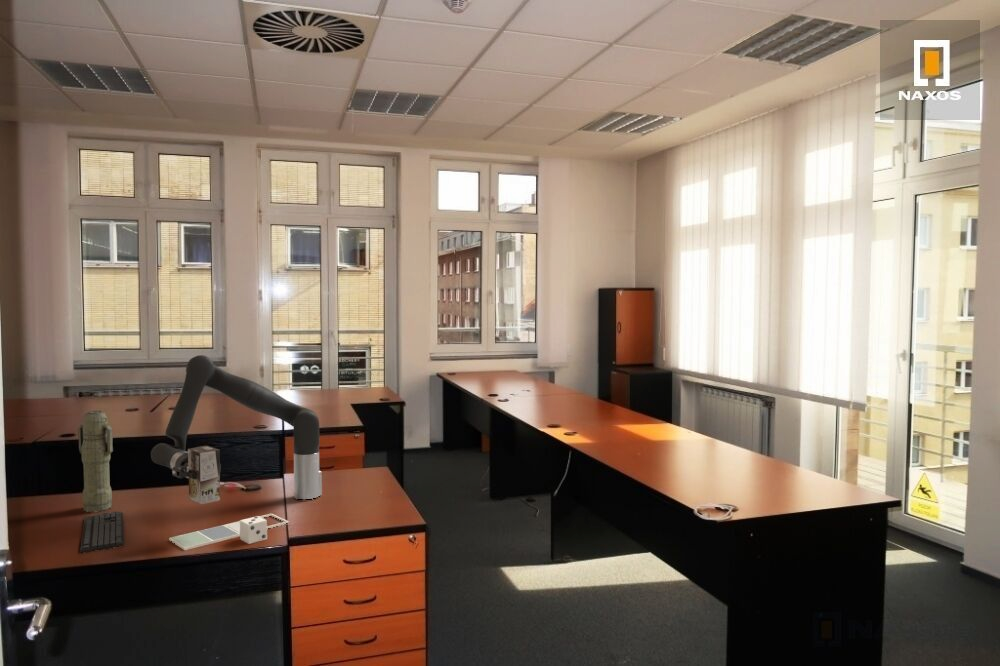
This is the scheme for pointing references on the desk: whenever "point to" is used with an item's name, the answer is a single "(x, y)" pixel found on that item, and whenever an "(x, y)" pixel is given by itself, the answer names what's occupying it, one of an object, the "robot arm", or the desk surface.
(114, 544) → the keyboard
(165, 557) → the desk surface
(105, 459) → the khaki stone statue
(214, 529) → the board
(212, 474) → the coffee box
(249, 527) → the die
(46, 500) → the desk surface
